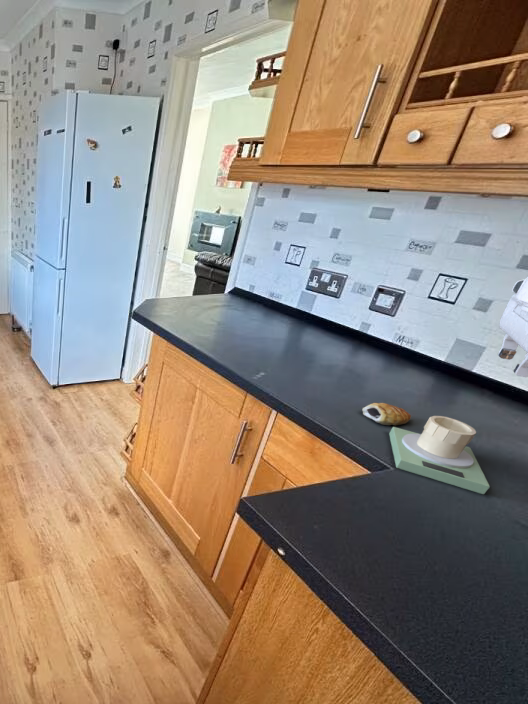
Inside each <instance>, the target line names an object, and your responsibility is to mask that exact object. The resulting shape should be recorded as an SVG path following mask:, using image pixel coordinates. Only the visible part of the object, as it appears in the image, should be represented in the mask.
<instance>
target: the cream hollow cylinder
mask: <svg viewBox="0 0 528 704" xmlns="http://www.w3.org/2000/svg"><path fill="white" fill-rule="evenodd" d="M420 434H421V435H420V437H419V438H418V440H417V444H418V446H419V447H421V448H422V449H423V450H425V451H427V452H429V453H431V454H434V455H436V456H440V457H443V458H449V459H455V458H458V457H459V455H460V454H461V453H462V451H463V450H464V448H465V447H466V446H467V445H469V444H470V443H471V442H472V440H473V439H474V437H475V436H476V434H477V431H476V429H475V428H474V427H472V426H471V425H469V424H468V423H466V422H463V421H461V420H458V419H455V418H452V417H448V416H443V415H433V416H430V417H428V420H427V421H426V423H425V424H424V426H423V430H422V432H421V433H420Z"/></svg>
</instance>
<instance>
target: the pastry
mask: <svg viewBox="0 0 528 704" xmlns="http://www.w3.org/2000/svg"><path fill="white" fill-rule="evenodd" d="M361 412H362V415H363V416H365V417H366V418H368V419H370V420H373V421H374V422H375V423H378V424H381V425H382V426H383V425H384V426H391V425H392V426H400V425H404V424H405V425H406V424H407V423H408V422H409V421H410V420H411V419H412V418H411V417H412V415H411V414H410V413H409V412H408V411H406V410H405V409H404V408H402V407H398V406H397V405H393V404H389V403H385V402H373V403H370V404H367V405H366V406H365V407H362V411H361Z"/></svg>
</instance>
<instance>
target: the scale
mask: <svg viewBox="0 0 528 704" xmlns="http://www.w3.org/2000/svg"><path fill="white" fill-rule="evenodd" d="M420 435H421V433H418V432H415V431H410V430H407V429H404V428H400V427H397V426H392V427H391V429H390V430H389V433H388V436H389V440H390V444H391V445H390V446H391V449H392V454H393V459H394V463H395V467H396V469H399V470H403V471H405V472H409V473H413V474H415V475H419V476H422V477H426V478H429V479H432V480H435V481H438V482H442V483H445V484H448V485H452V486H454V487H458V488H461V489H465V490H468V491H471V492H473V493H474V492H475V493H477V494H481V495H485V494H486V492H487V491H488V490H489V489H490V487H491V486H490V484H489V482H488V480H487V478H486V476H485V474H484V472H483V470H482V468H481V466H480V464H479V462H478V460H477V458H476V456H475V454H474V452H473V450H472V449H471V447H470V446H467V445H466V447H465V448H464V450H463V451H462V453H461V454H460V455H459V457H458V458H455V459H449V458H443V457H440V456H436V455H434V454H431V453H429V452H427V451H425V450H423V449H422V448H421V447H419V446H418V444H417V440H418V438H419V437H420Z"/></svg>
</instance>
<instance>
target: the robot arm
mask: <svg viewBox="0 0 528 704" xmlns="http://www.w3.org/2000/svg"><path fill="white" fill-rule="evenodd" d="M511 292H512V293H513V294H512V295H511V297H510V298H509V300H508V302H507V304H506V306H505V309H504V311H503V312H502V314H501V317H500V319H499V323H498V327H499V329H501V330H502V331H503V333H505V335H504V336H503V339H502V344H501V348H500V349H499V351H498V353H497V356H498V357H499V358H500V359H503V360H508V361H509V360H512V359H514V357H515V355H516V354H517V349H518V347H520V348H522V349H523V350H524V351H525V352H526V353H525V355H524V359H523V360H522V361H521V362H520V363H517V364H516V365H515V368H514V369H513V373H514V374H515V375H516V376H517V377H522V378H528V276H527V277H525V278H524V279H518V280H517V281H516V282H515V283H514V285H513V287H512V288H511Z"/></svg>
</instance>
